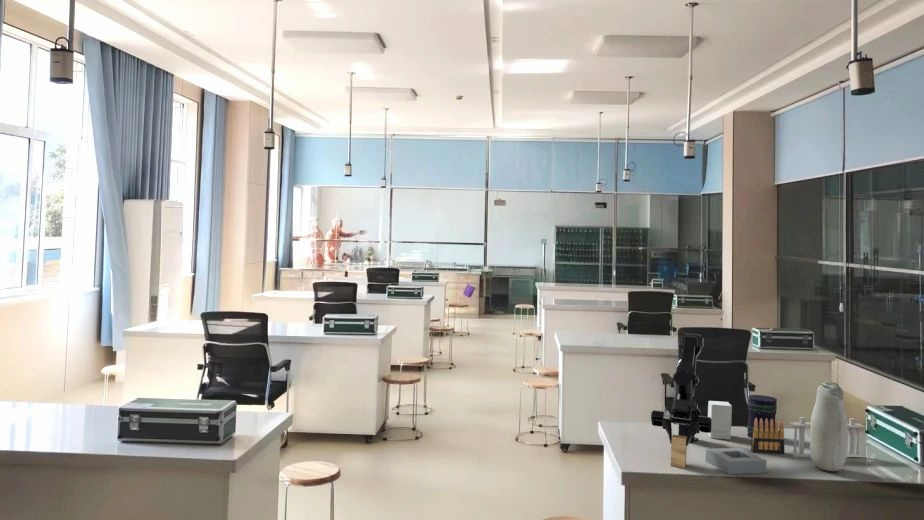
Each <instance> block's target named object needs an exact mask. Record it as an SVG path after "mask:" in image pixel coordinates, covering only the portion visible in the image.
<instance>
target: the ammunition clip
mask: <svg viewBox="0 0 924 520" xmlns="http://www.w3.org/2000/svg"><path fill="white" fill-rule="evenodd" d="M784 423H785V422H784V420H783V418H781V420H780V423H779V419H778V418H775V428H774V429H773V419H772V418H771V420H770V426H769V430H768V419H767V418H766V420H765V425H764V432H763V420H762V418H761V419H760V423H759V429H758V421H757V418H755V421H754V428H753V437H752V438H751V448H750V452H751V453H753V454H755V453H757V454H773V453H774V455H775V454H777V455H785V429H784V427H785V424H784Z"/></svg>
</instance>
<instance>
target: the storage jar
mask: <svg viewBox="0 0 924 520" xmlns="http://www.w3.org/2000/svg"><path fill="white" fill-rule="evenodd" d="M777 400H778V399H777V398H775V397H773V396H769V395H768V396H767V395H763V394H750V395H749V396H748V404H747V406H748V408H747V411H748V421H747V425H746V427H747V428H746V429H747V433H746V435H747V437H748V438H749V439H752V437H753V428H754V421H755V418H757V421H758V429H759V423H760V419H761V418H762V420H763V432H764V425H765V420H766V418H767V419H768V430H769V426H770V420H771V418H772V419H773V429H774V428H775V421H776V415H777V409H778V408H777V407H778V406H777V402H778V401H777Z"/></svg>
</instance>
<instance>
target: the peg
mask: <svg viewBox="0 0 924 520" xmlns="http://www.w3.org/2000/svg"><path fill="white" fill-rule="evenodd" d="M686 439H687V436H680V435H678V434H672V440H671V445H670V446H671V448H670V467H675V468H682V469H683V468H684V469H686V465H687V449H688V448H687V447H688V446H686Z"/></svg>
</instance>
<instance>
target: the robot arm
mask: <svg viewBox="0 0 924 520" xmlns="http://www.w3.org/2000/svg"><path fill="white" fill-rule="evenodd" d="M678 337H679V339H678V341H679V342H678V346H681V347H680V349H681V352H682V354H681V361H680V364H679V365H678V366H677V367H676V370H675V372H673V375H672V383H673V389H674V399H673V401H672V408H671V415H670V414H665V411H663V410H656V409H655V410H654V409H653V410H652V411H651V413H650V419H651V425H652V426H654V427H660V428H661V427H662V429H663V430H665V432H666V433H667V435H668V440H669V443H670V444H671V440H672V436H673V430H672V424H677V425H678V431H677V432H678V434H677V435H680V436H687V439H686V446H687V447H688V446H689V444H690V443H693V442H695V441H698V440H699V438H698V437H695V435H696V434H700V432H701V433H706V434H708V433H711V427H712V419H711V418H710V417H708V416H705V415H702V412H701V411H700V408H698V407H699V406H698V402H697V400H696V398H695V388H696V387H695V386H697V385H698V384H699V382H700V378H699V376H698V375H696V370H697V369H696V368H697V358H698V357H699V356H700V354H701V352H702V348H704V340H705V339H704V337H701V334H699V333H689V332H687V333H685V332H684V333H683V334H682V335H679V336H678Z"/></svg>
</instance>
